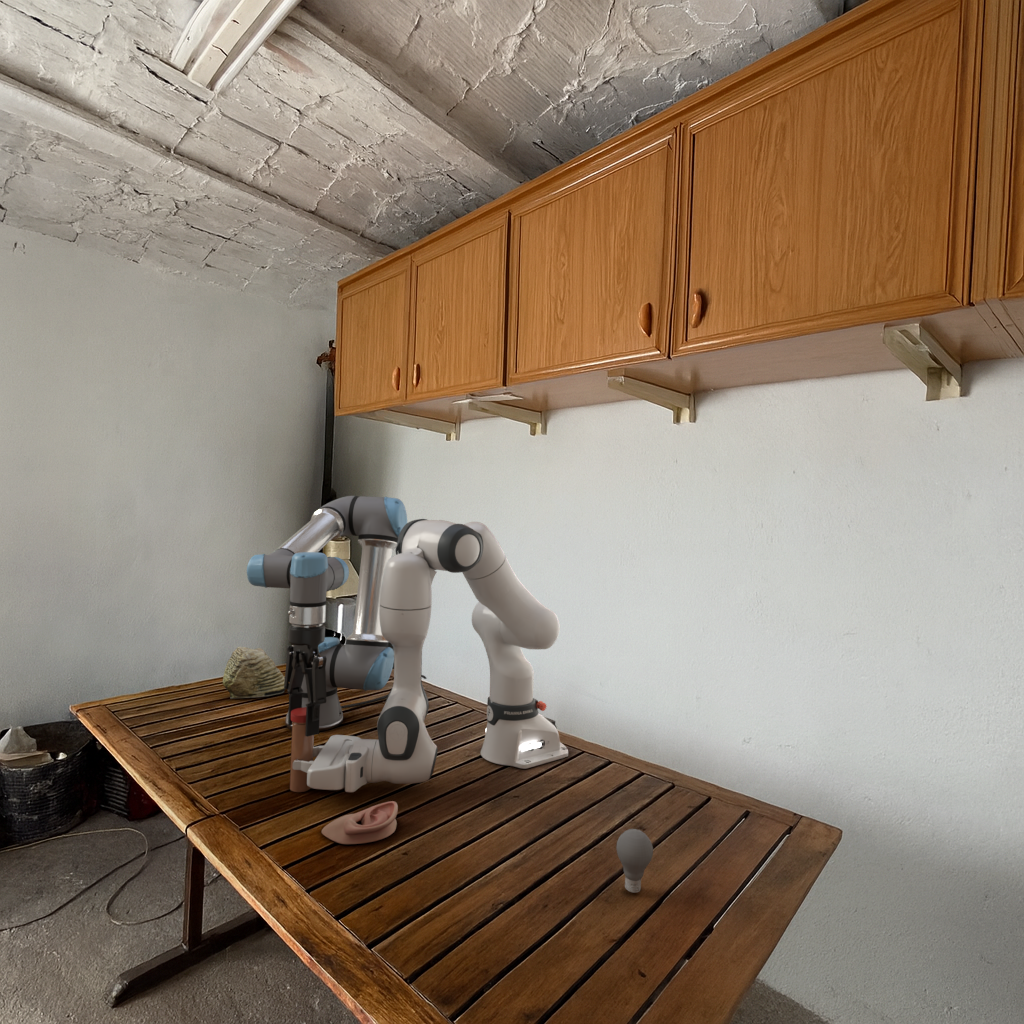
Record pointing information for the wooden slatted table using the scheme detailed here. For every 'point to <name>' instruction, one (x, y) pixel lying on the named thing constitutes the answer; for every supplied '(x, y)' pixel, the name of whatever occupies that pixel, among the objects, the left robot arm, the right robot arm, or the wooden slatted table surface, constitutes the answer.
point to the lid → (299, 715)
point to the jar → (300, 756)
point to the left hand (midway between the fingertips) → (303, 728)
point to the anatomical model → (364, 825)
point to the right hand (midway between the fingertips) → (297, 758)
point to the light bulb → (634, 857)
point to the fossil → (252, 674)
